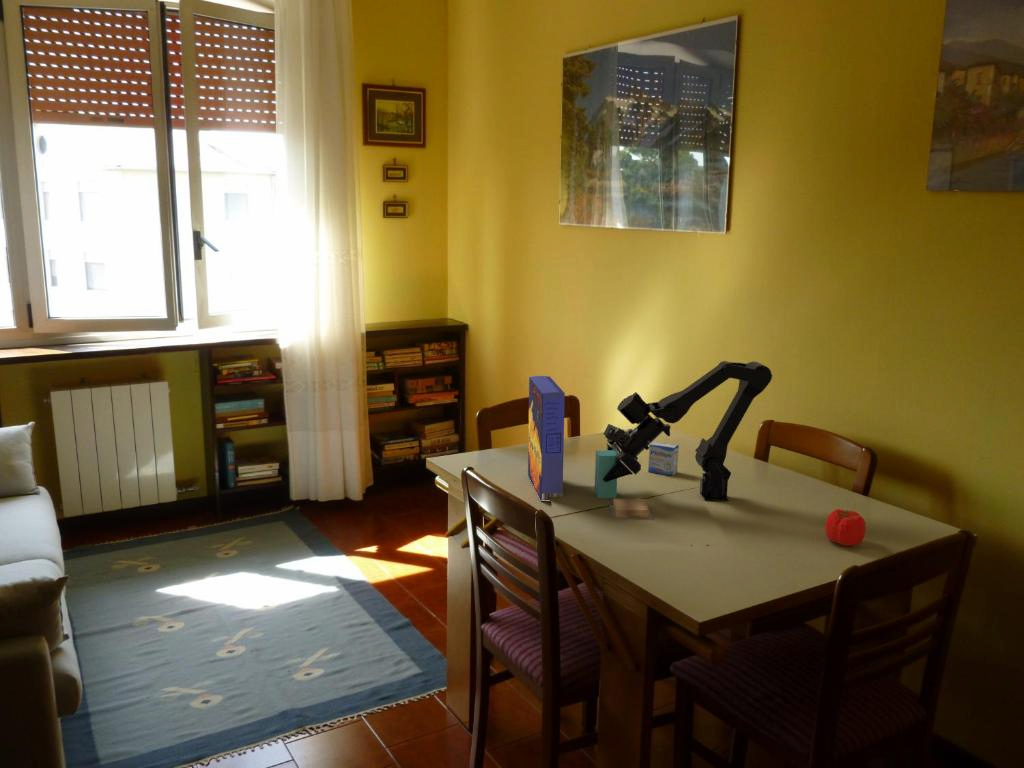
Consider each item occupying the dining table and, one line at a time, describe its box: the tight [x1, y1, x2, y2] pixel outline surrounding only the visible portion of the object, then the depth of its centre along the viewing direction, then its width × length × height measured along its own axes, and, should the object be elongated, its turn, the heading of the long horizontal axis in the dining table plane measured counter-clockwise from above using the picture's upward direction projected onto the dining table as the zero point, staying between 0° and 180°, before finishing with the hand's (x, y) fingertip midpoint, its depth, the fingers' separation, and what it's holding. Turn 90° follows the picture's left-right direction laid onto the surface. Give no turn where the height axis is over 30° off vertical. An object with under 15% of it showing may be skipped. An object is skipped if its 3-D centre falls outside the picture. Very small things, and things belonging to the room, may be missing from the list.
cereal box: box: [527, 375, 566, 501], centre depth 235 cm, size 22×6×30 cm, turn 8°
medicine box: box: [647, 441, 680, 477], centre depth 252 cm, size 8×4×9 cm, turn 62°
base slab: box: [608, 504, 654, 520], centre depth 216 cm, size 10×10×2 cm
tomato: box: [824, 508, 867, 547], centre depth 200 cm, size 9×9×8 cm
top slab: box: [612, 498, 650, 518], centre depth 216 cm, size 8×8×2 cm
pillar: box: [594, 449, 618, 499], centre depth 228 cm, size 5×5×13 cm
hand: (600, 475), depth 228 cm, fingers open, 8 cm apart
